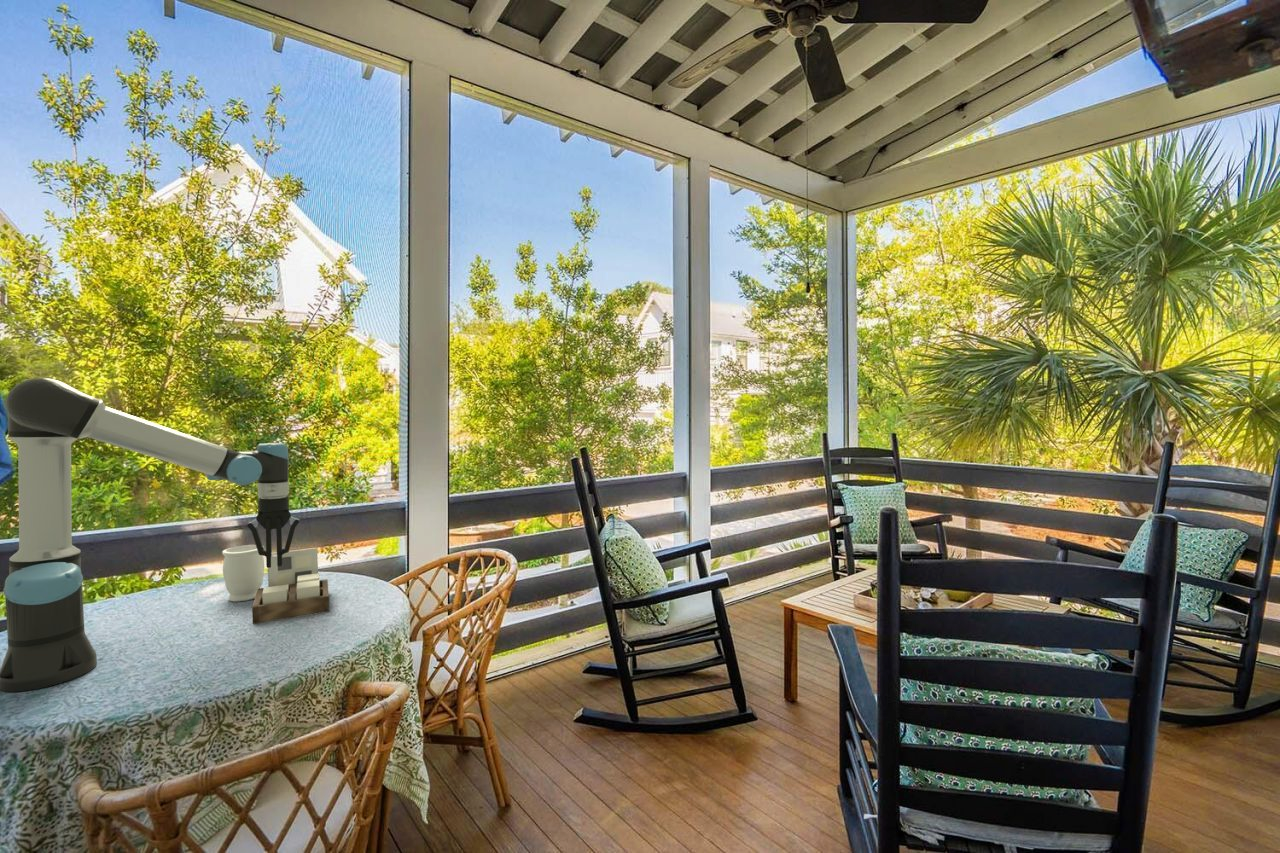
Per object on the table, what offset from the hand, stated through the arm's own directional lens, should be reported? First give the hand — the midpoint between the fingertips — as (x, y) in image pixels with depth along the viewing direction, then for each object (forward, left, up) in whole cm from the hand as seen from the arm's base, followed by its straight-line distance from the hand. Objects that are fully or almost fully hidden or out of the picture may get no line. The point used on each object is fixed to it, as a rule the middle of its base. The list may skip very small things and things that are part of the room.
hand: (274, 577), depth 168 cm
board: (+5, -4, -8) cm, 10 cm away
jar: (-8, +14, -9) cm, 18 cm away
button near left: (+1, -8, -5) cm, 9 cm away
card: (+5, +7, -8) cm, 12 cm away
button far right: (+9, 0, -5) cm, 10 cm away
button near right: (+9, -8, -5) cm, 13 cm away
